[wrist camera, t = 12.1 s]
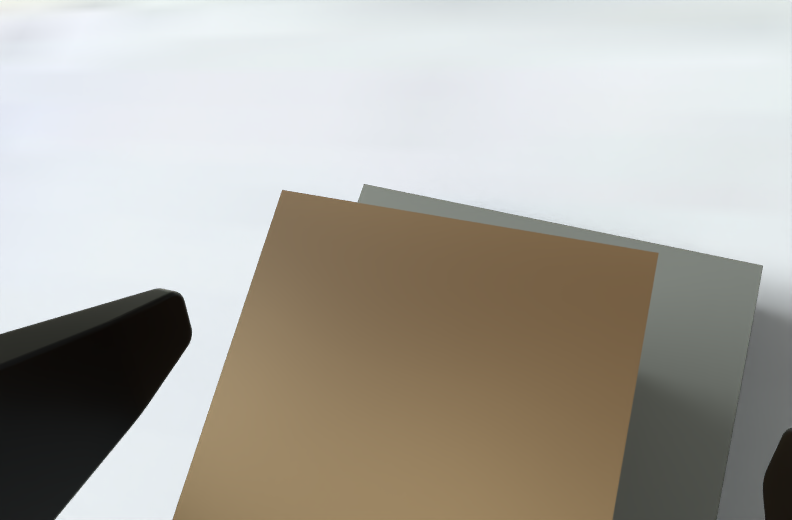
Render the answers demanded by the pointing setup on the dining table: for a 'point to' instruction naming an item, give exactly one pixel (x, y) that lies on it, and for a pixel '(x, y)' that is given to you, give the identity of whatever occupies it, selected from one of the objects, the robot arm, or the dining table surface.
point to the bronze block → (423, 372)
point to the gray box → (661, 364)
